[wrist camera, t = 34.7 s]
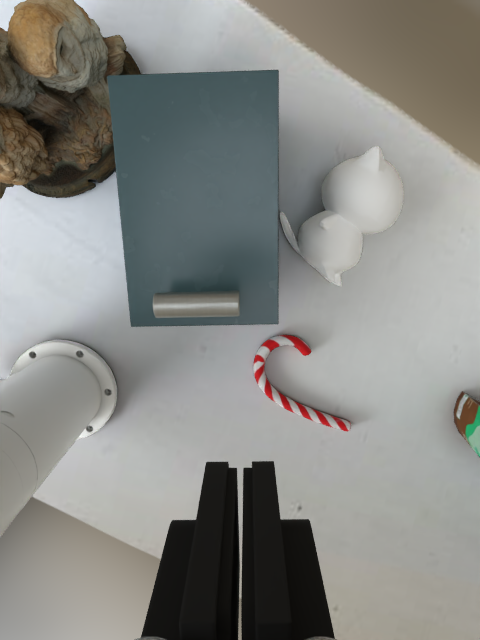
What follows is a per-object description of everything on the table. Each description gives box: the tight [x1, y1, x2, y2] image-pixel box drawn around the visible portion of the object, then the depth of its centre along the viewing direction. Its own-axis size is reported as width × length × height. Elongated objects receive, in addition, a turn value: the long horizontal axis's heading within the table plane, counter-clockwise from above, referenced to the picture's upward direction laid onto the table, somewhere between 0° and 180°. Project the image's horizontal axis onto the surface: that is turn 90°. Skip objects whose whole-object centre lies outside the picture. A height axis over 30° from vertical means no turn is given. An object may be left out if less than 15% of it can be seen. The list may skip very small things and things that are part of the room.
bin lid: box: [107, 70, 279, 327], centre depth 28 cm, size 18×12×5 cm, turn 1°
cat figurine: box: [280, 146, 404, 286], centre depth 38 cm, size 9×11×12 cm
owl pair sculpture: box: [0, 0, 141, 199], centre depth 32 cm, size 18×12×17 cm, turn 140°
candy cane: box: [253, 335, 351, 431], centre depth 46 cm, size 8×1×15 cm
